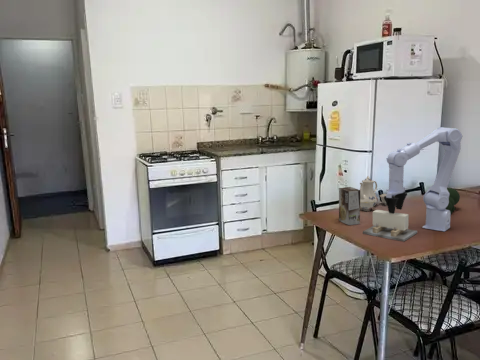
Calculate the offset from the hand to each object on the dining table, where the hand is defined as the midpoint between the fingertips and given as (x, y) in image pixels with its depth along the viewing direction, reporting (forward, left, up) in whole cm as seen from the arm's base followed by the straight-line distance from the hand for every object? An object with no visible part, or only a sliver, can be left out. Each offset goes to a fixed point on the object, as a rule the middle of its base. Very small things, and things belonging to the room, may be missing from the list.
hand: (395, 211), depth 186 cm
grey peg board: (+1, +3, -9) cm, 10 cm away
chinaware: (+28, -36, -10) cm, 46 cm away
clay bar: (+1, +3, -6) cm, 7 cm away
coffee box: (+23, -2, -10) cm, 25 cm away
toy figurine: (-6, -46, -10) cm, 48 cm away
